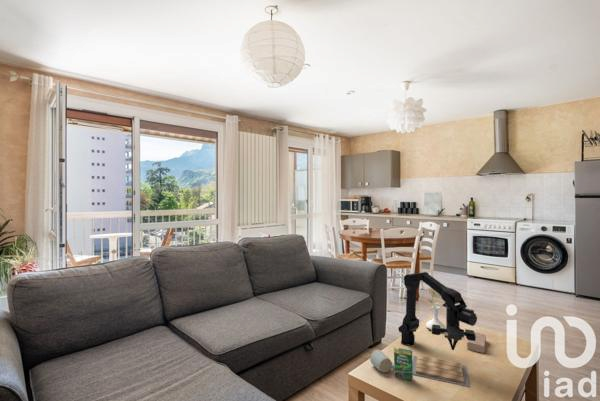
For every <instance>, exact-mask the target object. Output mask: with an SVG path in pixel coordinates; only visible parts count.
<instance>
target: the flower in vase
mask: <svg viewBox="0 0 600 401" xmlns="http://www.w3.org/2000/svg"><path fill="white" fill-rule="evenodd" d="M427 293H428V294H429V295H430V296H432V297H431V299H429V298H428V299H427V300H426V301H427V302H429V303H431V304H433V305H431V309H432V310H433V318H432V319H430V320H428V321H427V322H426V323H425V326H426V328H427V329H428V330H430V331H432V325H433V324H434V325H440V328H444V329H446V325H445V324H444V323H443V322H442V321H441V320H440V319H439V316H438V315H439V310H440V309H441V306H440V305H439V304H440V303H441V302H435V303H434V301H433V300H432V299H434V298H436V299H438V298H440V297H441V296H440V294H439V293H437V292H436V291H435V290H434V289H432V288H431V287H430V286H429V287H428V288H427Z"/></svg>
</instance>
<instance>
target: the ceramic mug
mask: <svg viewBox="0 0 600 401" xmlns="http://www.w3.org/2000/svg"><path fill="white" fill-rule="evenodd" d="M369 360H370V363H371V364H372V365H373V366H374V367H375V368H376V369H377V370H378V371H380V372H381V373H383V374H384V373H388V372H390V370H391V369H394V362H393V361H391V359H390V358H389V357H388V356H387V354H385V353H384V352H383V351H382V350H380V349H375V350H374V351H373V352H372V353H371V355H370V359H369Z"/></svg>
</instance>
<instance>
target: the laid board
mask: <svg viewBox="0 0 600 401" xmlns="http://www.w3.org/2000/svg"><path fill="white" fill-rule="evenodd" d="M416 373H417V374H421V375H426V376H431V377H435V378H440V379H445V380H449V381H454V382H458V383H463V384H464V379H463V373H462V372H457V371H452V370H447V369H442V368H437V367H432V366H427V365H422V364H417V363H416Z"/></svg>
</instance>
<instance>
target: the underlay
mask: <svg viewBox="0 0 600 401" xmlns="http://www.w3.org/2000/svg"><path fill="white" fill-rule="evenodd" d="M416 362H417V355H412V364H413V376H417V377H421V378H427V379H431V380H436V381H439V382H446V383H449V384H453V385H459V386H463V387H470V385H469V377H468V371H467V366H466V365H465V364H462V373H463V379H464V384H463V383H458V382H454V381H449V380H445V379H440V378H435V377H431V376H426V375H421V374H417V373H416Z"/></svg>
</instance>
